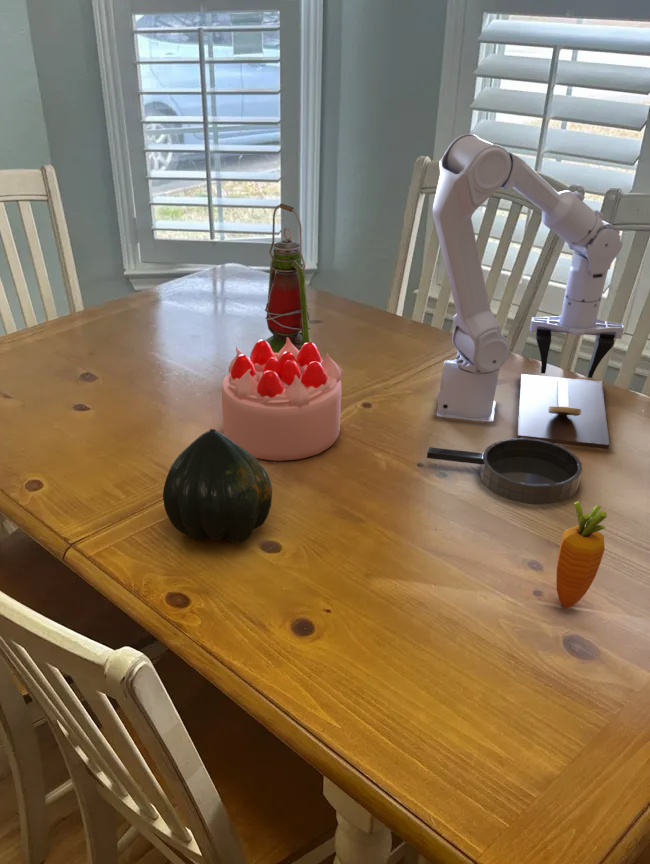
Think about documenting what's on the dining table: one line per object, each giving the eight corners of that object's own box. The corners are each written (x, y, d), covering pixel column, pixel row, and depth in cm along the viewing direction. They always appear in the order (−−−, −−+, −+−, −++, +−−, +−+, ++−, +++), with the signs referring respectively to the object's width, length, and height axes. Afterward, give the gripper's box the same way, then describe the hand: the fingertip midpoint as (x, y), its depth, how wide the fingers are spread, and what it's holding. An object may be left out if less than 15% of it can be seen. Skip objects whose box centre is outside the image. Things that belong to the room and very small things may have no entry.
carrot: (538, 596, 102) (562, 495, 94) (576, 593, 103) (604, 492, 94) (553, 622, 98) (580, 520, 90) (593, 619, 99) (624, 517, 90)
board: (516, 441, 134) (517, 435, 133) (520, 380, 152) (521, 374, 152) (607, 451, 130) (609, 445, 130) (600, 387, 149) (601, 381, 148)
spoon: (582, 414, 133) (589, 370, 132) (549, 410, 134) (556, 367, 133) (570, 420, 147) (577, 381, 147) (541, 417, 149) (547, 378, 148)
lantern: (330, 370, 158) (335, 208, 141) (285, 384, 154) (284, 218, 136) (289, 347, 168) (289, 192, 150) (245, 359, 164) (240, 202, 146)
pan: (476, 499, 120) (479, 479, 118) (482, 452, 131) (485, 433, 129) (578, 512, 117) (583, 492, 115) (576, 463, 128) (580, 443, 126)
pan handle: (426, 458, 126) (427, 452, 125) (428, 452, 127) (428, 446, 127) (482, 464, 124) (483, 459, 123) (483, 458, 125) (484, 453, 125)
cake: (221, 409, 146) (217, 333, 138) (332, 403, 147) (335, 327, 139) (226, 465, 130) (221, 383, 122) (350, 458, 131) (354, 376, 123)
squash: (222, 547, 104) (258, 434, 104) (130, 518, 111) (164, 413, 111) (268, 562, 116) (300, 462, 117) (183, 535, 123) (213, 441, 124)
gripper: (536, 301, 133) (522, 378, 141) (632, 308, 129) (612, 387, 137) (536, 287, 138) (523, 362, 146) (628, 293, 135) (609, 369, 143)
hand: (566, 373), depth 142 cm, fingers open, 7 cm apart
